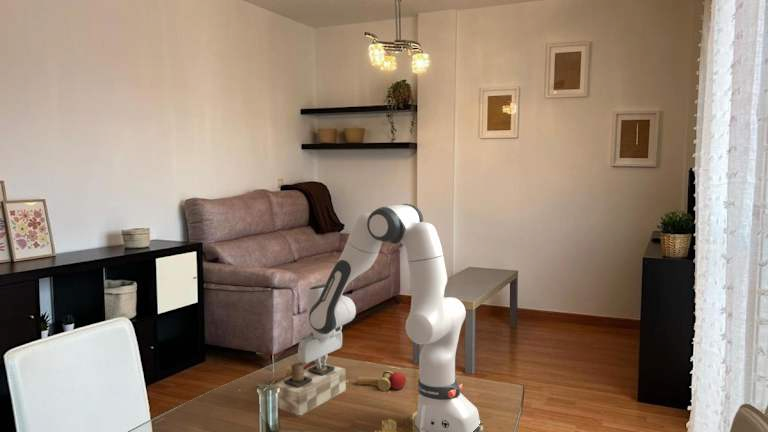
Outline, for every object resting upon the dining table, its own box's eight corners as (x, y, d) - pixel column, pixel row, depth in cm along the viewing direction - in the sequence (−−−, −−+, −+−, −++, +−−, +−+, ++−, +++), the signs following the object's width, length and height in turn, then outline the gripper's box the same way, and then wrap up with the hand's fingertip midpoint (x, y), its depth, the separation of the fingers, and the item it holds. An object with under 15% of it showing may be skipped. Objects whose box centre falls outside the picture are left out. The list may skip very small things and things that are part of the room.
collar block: (345, 390, 206) (345, 366, 205) (299, 416, 187) (298, 389, 186) (320, 383, 213) (319, 359, 212) (273, 407, 193) (272, 381, 192)
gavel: (303, 355, 234) (326, 356, 232) (303, 366, 234) (326, 367, 233) (285, 371, 213) (311, 373, 212) (285, 383, 214) (311, 385, 212)
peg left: (306, 388, 195) (306, 364, 194) (298, 392, 192) (297, 368, 191) (298, 386, 197) (297, 362, 196) (289, 390, 194) (289, 366, 193)
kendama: (355, 393, 207) (403, 391, 202) (353, 375, 208) (401, 373, 203) (362, 388, 215) (409, 386, 209) (361, 371, 215) (407, 368, 210)
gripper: (306, 339, 192) (307, 379, 193) (345, 323, 208) (345, 360, 210) (292, 336, 195) (294, 375, 197) (331, 321, 212) (332, 357, 214)
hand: (321, 367), depth 204 cm, fingers closed, pressing on peg right
